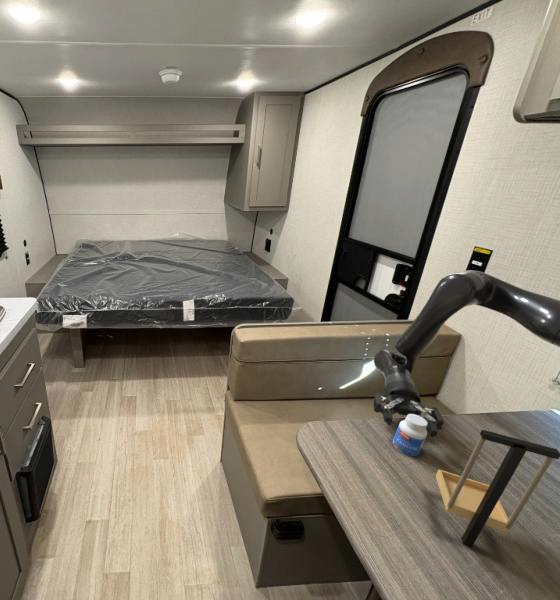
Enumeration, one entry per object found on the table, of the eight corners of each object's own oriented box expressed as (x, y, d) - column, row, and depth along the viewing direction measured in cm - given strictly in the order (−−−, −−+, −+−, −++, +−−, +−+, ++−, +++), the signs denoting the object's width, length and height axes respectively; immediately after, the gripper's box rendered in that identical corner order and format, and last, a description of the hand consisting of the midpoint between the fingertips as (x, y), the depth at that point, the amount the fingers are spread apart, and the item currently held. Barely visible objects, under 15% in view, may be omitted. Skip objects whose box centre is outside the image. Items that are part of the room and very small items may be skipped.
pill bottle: (389, 450, 79) (400, 419, 75) (393, 438, 82) (404, 408, 79) (417, 463, 75) (430, 431, 71) (419, 449, 79) (432, 418, 75)
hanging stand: (478, 515, 64) (532, 417, 54) (497, 562, 56) (563, 457, 47) (424, 496, 67) (466, 401, 58) (435, 538, 60) (485, 436, 50)
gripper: (374, 373, 92) (380, 406, 79) (436, 387, 86) (453, 426, 73) (368, 394, 95) (373, 430, 82) (428, 409, 89) (443, 450, 76)
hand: (411, 428), depth 77 cm, fingers open, 8 cm apart
